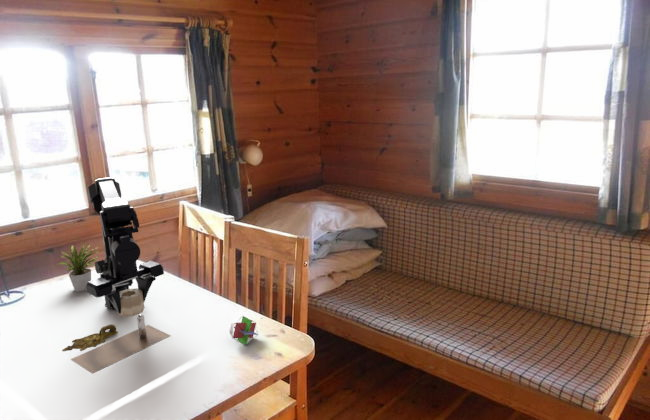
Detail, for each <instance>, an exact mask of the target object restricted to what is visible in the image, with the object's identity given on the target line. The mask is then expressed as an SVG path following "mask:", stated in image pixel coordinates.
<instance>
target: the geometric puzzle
mask: <svg viewBox="0 0 650 420" xmlns="http://www.w3.org/2000/svg"><path fill="white" fill-rule="evenodd" d="M240 320H241V322H239V321H240ZM256 328H257V322H255V321H253V320H252V319H249V318H248V317H246V316H244V315H242V316H241V317H240V318H239V319H238V320H237V322H233V323H231V324H230V328H229V334H230V336H231V338H232V339H233V340H235V341H237V342H239V343H241V344H243V345H244V346H245V347H246V346H248V345H249V343H251V342H252V339H254V335H255V337H257V336H259V333H258V330H259V329H256ZM255 330H256V332H255Z"/></svg>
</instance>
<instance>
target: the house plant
mask: <svg viewBox="0 0 650 420" xmlns="http://www.w3.org/2000/svg"><path fill="white" fill-rule="evenodd" d="M85 245H86V243H85V242H84V244H83V245H82V247H81V248H80V251H77V249H76V246H75V245H74V243H72V244H71V248H70V250H71V251H68V250H67V251H60V252H61V254H62V255H60V257H61V258H64V259H65V260H66V261H68V262H69V263H68V262H65V261H62V262H60V263H59V262H58V265H64V266H67V267H66V271H67V272H66V273H68V272H69V271H70V272H69V273H68V276H69V279H70V282H71V283H72V286H73V290H74V291H75V292H78V293H80V292H81V293H82V292H85V291H86V292H87V290H86V285H87V283H88V282H89V281H92V269H91V268H90V267H89V268H88V266H91V267H92V268H93V264H92V263H93V262H97V261H99V260H98V259H97V258H98V256H95V257H90V256H92V255H94V254H95V255H96V254H97V253H101V250H99V251H97V250H96V249H98V248H100V246H99V247H95V248H93V249H90V250H89V248H90V247H91V246H92V244H89V245H87V246H86V248H85ZM84 248H85V249H84ZM66 252H68V253H69V254H71V256H70V255H69V254H68V253H66ZM78 252H79V253H78ZM88 257H89V258H88Z"/></svg>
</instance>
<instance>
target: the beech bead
mask: <svg viewBox="0 0 650 420" xmlns="http://www.w3.org/2000/svg"><path fill="white" fill-rule="evenodd" d="M119 293H120V303H121V313H118V312H117V311H116V312H117V313H116V314H117V315H118V316H120V317H122V318H124V317H125V318H126V317H134V316H138V315H139V314H142V313H143V312H144V309H145V301H143V293H142V290H139V289H138V287H136V288H129V289H126V290H123V291H120V292H119Z"/></svg>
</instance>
